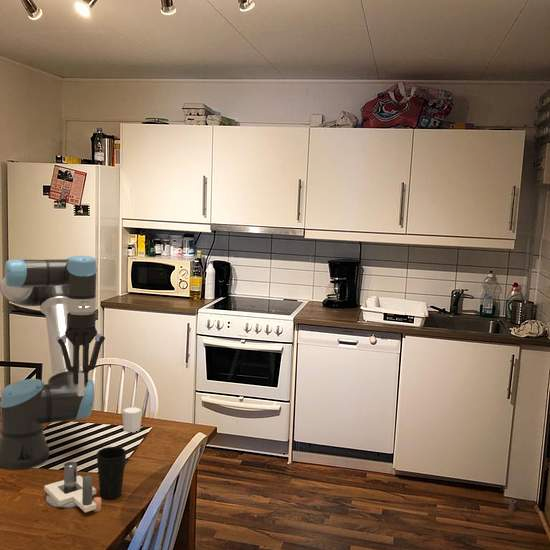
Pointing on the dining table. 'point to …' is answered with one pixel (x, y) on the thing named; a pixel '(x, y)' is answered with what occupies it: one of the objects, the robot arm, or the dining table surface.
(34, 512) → the dining table surface
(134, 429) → the white cylinder
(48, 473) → the dining table surface
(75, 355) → the robot arm
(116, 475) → the cup
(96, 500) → the dowel
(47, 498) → the base
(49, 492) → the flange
